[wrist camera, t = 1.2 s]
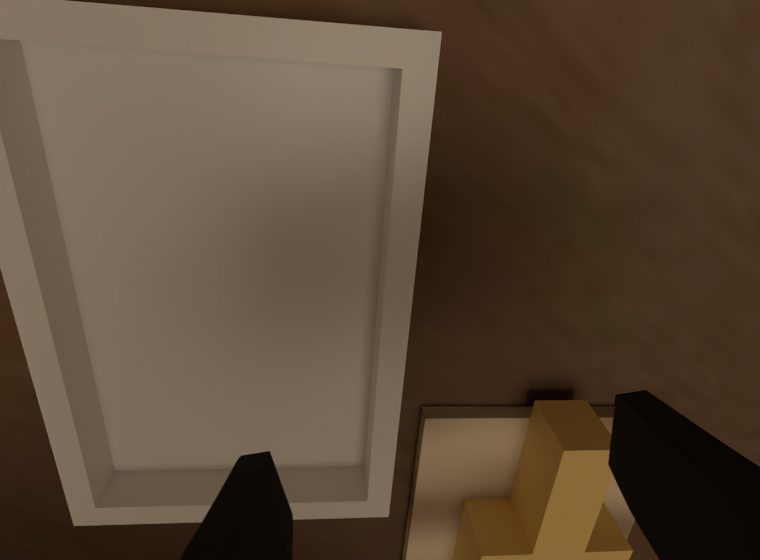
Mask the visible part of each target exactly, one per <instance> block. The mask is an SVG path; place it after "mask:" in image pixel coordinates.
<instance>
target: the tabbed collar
mask: <svg viewBox="0 0 760 560" xmlns="http://www.w3.org/2000/svg"><path fill="white" fill-rule="evenodd" d="M610 443H611V434H610V432H609V431H608V430H607V428H606V427H605V425H604V424H603V423H602V421H601V420H600V419H599V417H598V416H597V415H596V413H595V412H594V410H593V409H592V408H591V406H590V405H589V404H588V402H587V401H586V400H535V401H534V405H533V409H532V413H531V416H530V420H529V424H528V428H527V432H526V436H525V440H524V444H523V448H522V452H521V456H520V460H519V464H518V468H517V471H516V475H515V479H514V483H513V487H512V491H511V495H510V498H471V499H464V504H463V509H462V514H461V519H460V524H459V529H458V534H457V539H456V544H455V549H454V554H453V559H452V560H629V559H630V556H631V554H632V552H633V550H632V548H631V546H630V545H629V543H628V541H627V540H626V538H625V536H624V535H623V533H622V531H621V530H620V528H619V527H618V525H617V523H616V522H615V520H614V518H613V517H612V515H611V513H610V512H609V510H608V508H607V507H606V505H605V503H604V502H603V501H604V498H605V496H606V493H607V490H608V487H609V485H610V482H611V479H612V477H613V474H612V472H611V469H610V467H609V465H608V461H609V452H610Z"/></svg>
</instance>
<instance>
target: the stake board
mask: <svg viewBox="0 0 760 560" xmlns="http://www.w3.org/2000/svg"><path fill="white" fill-rule="evenodd" d="M614 407H615V406H591V408H592V409H593V410H594V412H595V413H596V415H597V416H598V417H599V419H600V420H601V421H602V423H603V424H604V425H605V427H606V428H607V430H608V431H609V432H610V434H612V425H613V416H614ZM532 409H533V406H478V407H422V413H421V420H420V428H419V435H418V443H417V450H416V458H415V465H414V473H413V480H412V488H411V495H410V503H409V510H408V518H407V525H406V532H405V540H404V547H403V555H402V560H452V559H453V554H454V549H455V544H456V539H457V534H458V529H459V524H460V519H461V514H462V509H463V504H464V499H471V498H510V495H511V491H512V487H513V483H514V479H515V475H516V471H517V468H518V464H519V460H520V456H521V452H522V448H523V444H524V440H525V436H526V432H527V428H528V424H529V420H530V416H531V413H532ZM603 502H604V503H605V505H606V507H607V508H608V510H609V512H610V513H611V515H612V517H613V518H614V520H615V522H616V523H617V525H618V527H619V528H620V530H621V531H622V533H623V535H624V536H625V538H626V540H627V538H628V536H629V533H630V531H631V528H632V526H633V524H634V521H635V519H634V517H633V515H632V514H631V512H630V510H629V508H628V505H627V503H626V501H625V499H624V497H623V495H622V493H621V491H620V489H619V487H618V485H617V482H616V480H615V478H614V476H613V477H612V479H611V482H610V485H609V487H608V490H607V493H606V496H605V498H604V501H603Z"/></svg>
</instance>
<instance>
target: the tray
mask: <svg viewBox="0 0 760 560" xmlns="http://www.w3.org/2000/svg"><path fill="white" fill-rule="evenodd" d="M441 35H442V32H437V31H425V30H413V29H401V28H389V27H377V26H365V25H354V24H342V23H330V22H318V21H306V20H294V19H282V18H270V17H258V16H246V15H234V14H222V13H210V12H198V11H186V10H174V9H162V8H150V7H138V6H126V5H114V4H102V3H90V2H78V1H66V0H0V268H1V272H2V275H3V279H4V282H5V286H6V289H7V293H8V296H9V300H10V303H11V307H12V310H13V314H14V317H15V321H16V324H17V328H18V332H19V335H20V339H21V342H22V346H23V349H24V353H25V356H26V360H27V363H28V367H29V370H30V374H31V377H32V381H33V384H34V388H35V391H36V395H37V398H38V402H39V405H40V409H41V412H42V416H43V419H44V423H45V426H46V430H47V433H48V437H49V440H50V444H51V447H52V451H53V454H54V458H55V461H56V465H57V468H58V472H59V475H60V479H61V482H62V486H63V490H64V493H65V497H66V500H67V504H68V507H69V511H70V514H71V518H72V521H73V525H74V526H88V525H123V524H158V523H192V522H202V521H203V519H204V518H205V516H206V514H207V512H208V511H209V509H210V507H211V506H212V504H213V502H214V500H215V499H216V497H217V495H218V493H219V492H220V490H221V488H222V486H223V485H224V483H225V481H226V479H227V477H228V476H229V474H230V472H231V470H232V468H233V467H234V465H235V463H236V461H237V460H238V459H239V457H240V456H242V455H248V454H254V453H260V452H266V451H270V453H271V456H272V458H273V461H274V464H275V467H276V470H277V472H278V475H279V478H280V481H281V483H282V486H283V489H284V492H285V495H286V497H287V500H288V503H289V506H290V508H291V511H292V514H293V520H296V519H331V518H366V517H389V508H390V499H391V490H392V481H393V472H394V463H395V454H396V445H397V436H398V427H399V417H400V408H401V399H402V390H403V381H404V372H405V363H406V354H407V345H408V336H409V326H410V317H411V308H412V299H413V290H414V281H415V272H416V263H417V254H418V245H419V236H420V226H421V217H422V208H423V199H424V190H425V181H426V172H427V163H428V154H429V145H430V135H431V126H432V117H433V108H434V99H435V90H436V81H437V72H438V63H439V54H440V44H441Z"/></svg>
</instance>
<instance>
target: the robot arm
mask: <svg viewBox="0 0 760 560" xmlns="http://www.w3.org/2000/svg"><path fill="white" fill-rule="evenodd" d="M608 465H609V467H610V469H611V472H612V474H613V476H614V478H615V480H616V482H617V485H618V487H619V489H620V491H621V493H622V495H623V497H624V499H625V501H626V503H627V505H628V508H629V510H630V512H631V514H632V515H633V517H634V519H635V520H636V522H637V524H638V525H639V527H640V528H641V530H642V532H643V533H644V535H645V537H646V538H647V540H648V542H649V543H650V545H651V546H652V548H653V550H654V551H655V553H656V555H657V556H658V558H659V559H660V560H760V467H759V466H757V465H756V464H754V463H753V462H751V461H750V460H748V459H747V458H745V457H744V456H742V455H741V454H739V453H738V452H736V451H734V450H733V449H731V448H730V447H728V446H727V445H726V444H724V443H723V442H721V441H720V440H718V439H717V438H715V437H714V436H712V435H711V434H709V433H708V432H706V431H705V430H703V429H702V428H700V427H699V426H697V425H696V424H694V423H693V422H692V421H690V420H689V419H687V418H686V417H684V416H683V415H681V414H680V413H678V412H677V411H676V410H674V409H673V408H671V407H670V406H668V405H667V404H665V403H664V402H662V401H661V400H659V399H658V398H656V397H655V396H653V395H652V394H650V393H649V392H647V391H646V390H643V391H637V392H631V393H625V394H618V395H616V398H615V407H614V416H613V425H612V434H611V443H610V452H609V461H608ZM292 538H293V514H292V511H291V508H290V506H289V503H288V500H287V497H286V495H285V492H284V489H283V486H282V483H281V481H280V478H279V475H278V472H277V470H276V467H275V464H274V461H273V458H272V456H271V453H270V451H266V452H260V453H254V454H248V455H242V456H240V457H239V459H238V460H237V461H236V463H235V465H234V467H233V468H232V470H231V472H230V474H229V476H228V477H227V479H226V481H225V483H224V485H223V486H222V488H221V490H220V492H219V493H218V495H217V497H216V499H215V500H214V502H213V504H212V506H211V507H210V509H209V511H208V512H207V514H206V516H205V518H204V519H203V521H202V523H201V524H200V526H199V528H198V529H197V531H196V533H195V534H194V536H193V538H192V539H191V541H190V542H189V544H188V546H187V547H186V549H185V551H184V552H183V554H182V555H181V557H180V559H179V560H292Z"/></svg>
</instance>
